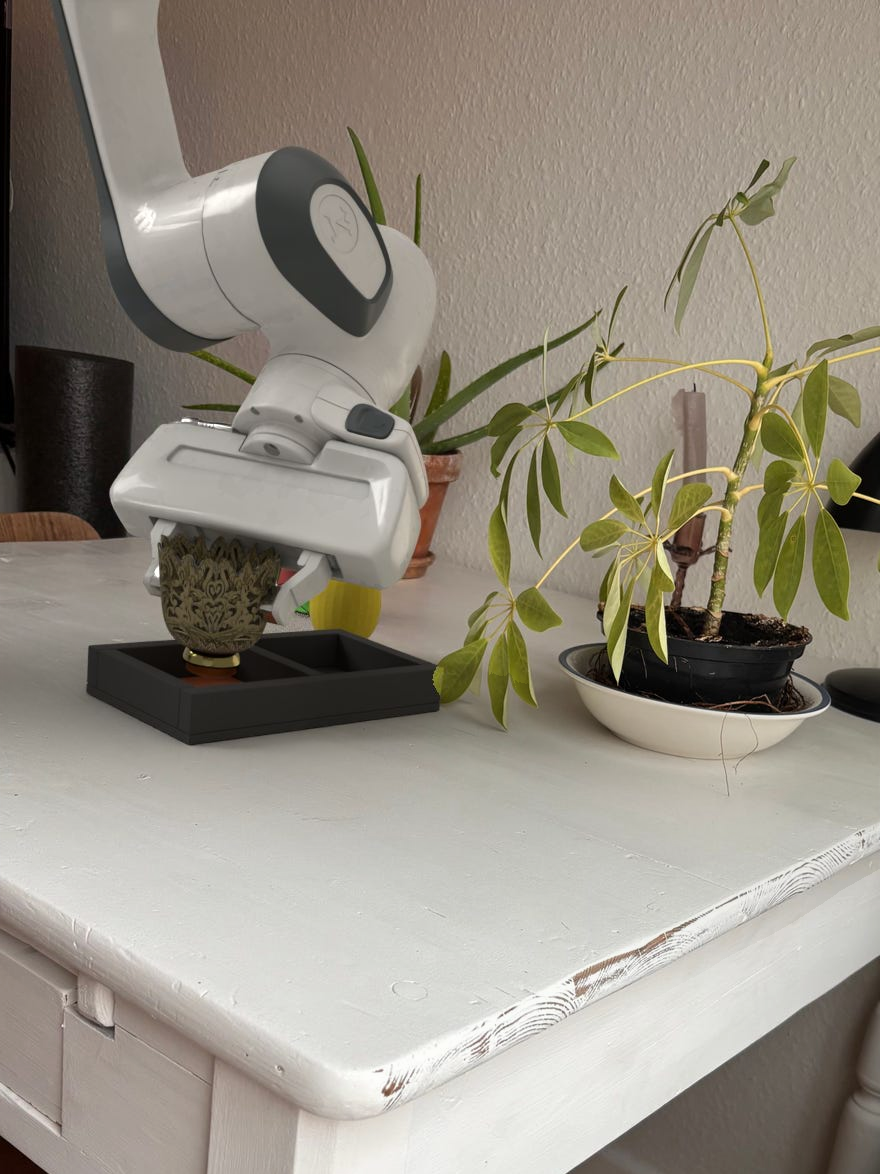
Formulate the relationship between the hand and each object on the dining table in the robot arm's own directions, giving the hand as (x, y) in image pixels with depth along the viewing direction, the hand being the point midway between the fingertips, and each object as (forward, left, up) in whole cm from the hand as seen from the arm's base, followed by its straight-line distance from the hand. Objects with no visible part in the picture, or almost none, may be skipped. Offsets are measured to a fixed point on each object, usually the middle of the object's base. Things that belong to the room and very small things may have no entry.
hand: (213, 605), depth 79 cm
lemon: (-9, +19, -7) cm, 23 cm away
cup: (0, 0, -5) cm, 5 cm away
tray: (0, +5, -7) cm, 9 cm away
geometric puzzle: (-23, +26, -7) cm, 36 cm away
